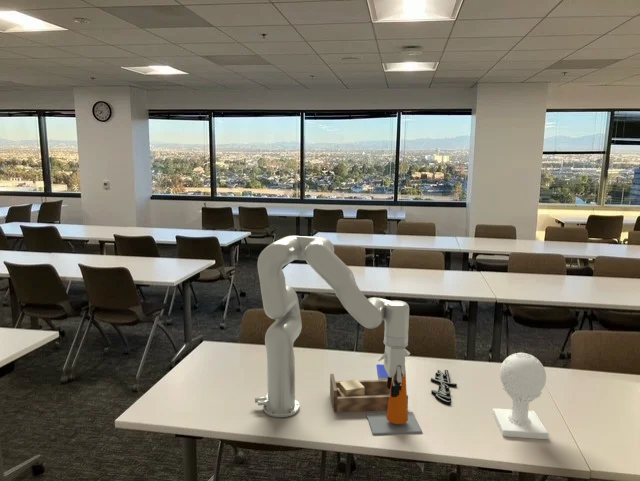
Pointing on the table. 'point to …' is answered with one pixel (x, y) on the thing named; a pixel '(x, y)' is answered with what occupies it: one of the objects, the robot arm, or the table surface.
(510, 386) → the trophy
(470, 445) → the table surface
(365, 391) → the wooden box
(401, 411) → the spray bottle
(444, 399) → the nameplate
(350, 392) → the offcut top
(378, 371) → the hard drive
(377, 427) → the mat
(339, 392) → the offcut middle
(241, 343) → the table surface
